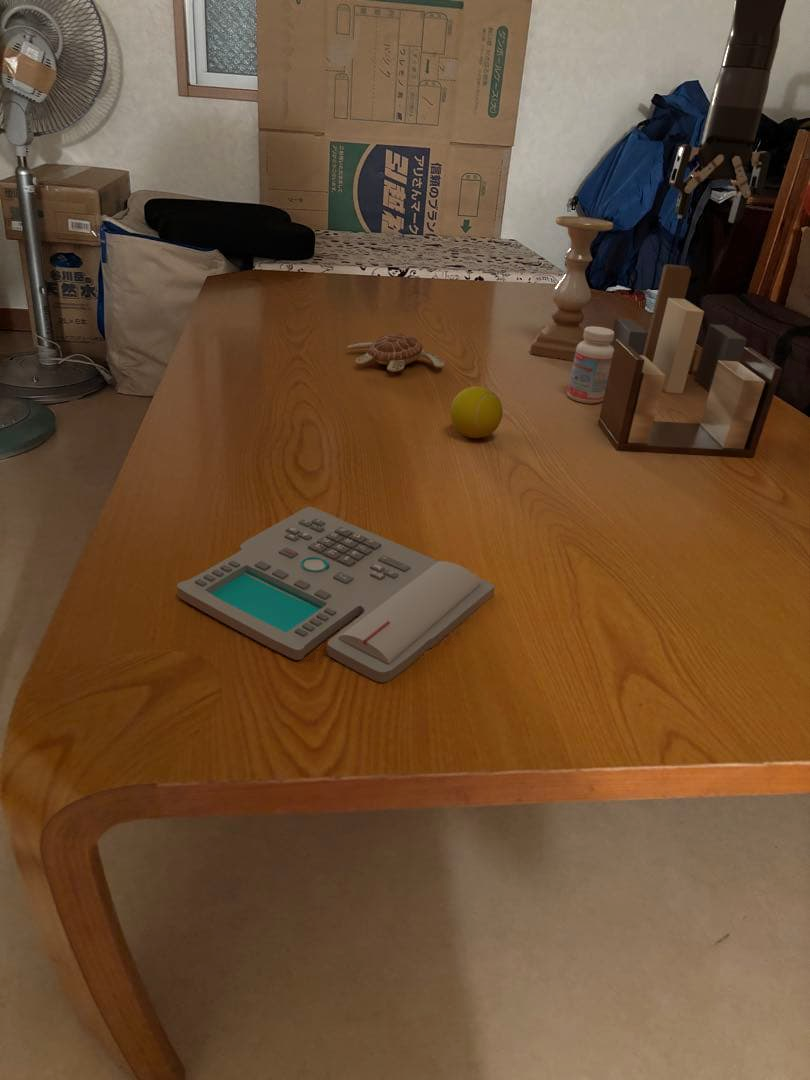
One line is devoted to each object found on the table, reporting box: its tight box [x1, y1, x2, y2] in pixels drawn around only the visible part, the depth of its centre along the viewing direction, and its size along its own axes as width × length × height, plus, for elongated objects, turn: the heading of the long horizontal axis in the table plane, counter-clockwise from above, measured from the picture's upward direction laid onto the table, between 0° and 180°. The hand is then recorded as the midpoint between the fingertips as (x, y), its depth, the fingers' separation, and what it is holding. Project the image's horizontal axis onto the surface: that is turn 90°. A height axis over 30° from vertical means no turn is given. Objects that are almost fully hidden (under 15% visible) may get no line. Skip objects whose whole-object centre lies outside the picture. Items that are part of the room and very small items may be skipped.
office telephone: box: [176, 505, 496, 683], centre depth 71 cm, size 23×3×20 cm
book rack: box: [597, 339, 783, 459], centre depth 110 cm, size 20×10×13 cm, turn 93°
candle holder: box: [529, 215, 614, 362], centre depth 145 cm, size 11×11×24 cm
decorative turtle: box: [346, 332, 445, 373], centre depth 135 cm, size 18×17×5 cm
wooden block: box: [643, 263, 698, 374], centre depth 142 cm, size 9×4×18 cm, turn 77°
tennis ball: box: [449, 385, 503, 439], centre depth 107 cm, size 7×7×7 cm
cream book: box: [653, 298, 705, 394], centre depth 134 cm, size 3×9×14 cm, turn 3°
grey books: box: [610, 317, 748, 392], centre depth 135 cm, size 20×9×10 cm, turn 93°
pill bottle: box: [567, 325, 614, 405], centre depth 124 cm, size 6×6×11 cm
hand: (707, 220), depth 123 cm, fingers open, 8 cm apart
